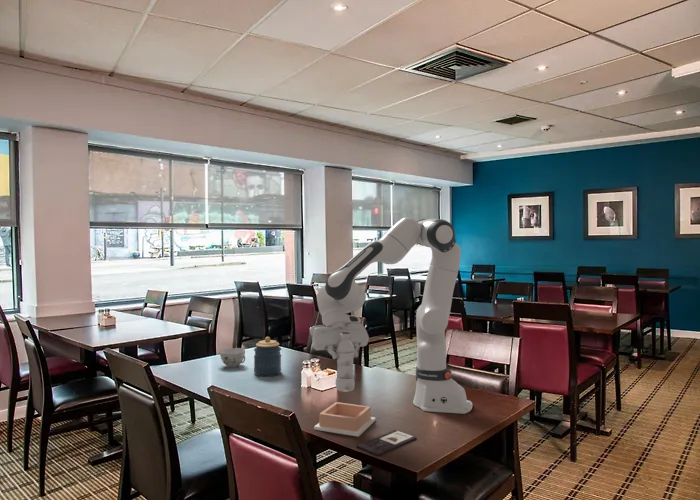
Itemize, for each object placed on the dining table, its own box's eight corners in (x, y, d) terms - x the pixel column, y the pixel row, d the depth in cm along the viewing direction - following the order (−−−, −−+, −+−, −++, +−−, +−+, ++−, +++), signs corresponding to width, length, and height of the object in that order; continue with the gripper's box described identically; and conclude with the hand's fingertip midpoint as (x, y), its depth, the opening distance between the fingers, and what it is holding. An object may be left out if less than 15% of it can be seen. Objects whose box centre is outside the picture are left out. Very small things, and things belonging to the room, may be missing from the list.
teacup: (214, 367, 247) (214, 351, 247) (233, 362, 258) (233, 346, 258) (235, 371, 239) (235, 354, 239) (253, 366, 249) (253, 350, 249)
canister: (286, 373, 234) (286, 337, 234) (263, 378, 226) (263, 340, 225) (271, 368, 244) (271, 333, 244) (248, 373, 235) (248, 336, 235)
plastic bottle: (343, 387, 173) (343, 330, 172) (358, 390, 168) (358, 332, 168) (331, 391, 168) (331, 333, 167) (346, 395, 163) (346, 335, 163)
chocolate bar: (356, 445, 149) (394, 429, 162) (356, 448, 149) (394, 432, 162) (378, 454, 143) (416, 437, 155) (378, 457, 143) (416, 440, 155)
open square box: (375, 420, 172) (375, 406, 172) (358, 436, 157) (358, 421, 157) (334, 414, 178) (334, 400, 178) (314, 429, 164) (314, 414, 164)
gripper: (310, 321, 170) (319, 354, 161) (363, 317, 178) (375, 349, 169) (306, 331, 175) (315, 365, 166) (359, 327, 182) (370, 359, 173)
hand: (346, 357), depth 167 cm, fingers closed on plastic bottle, 6 cm apart
